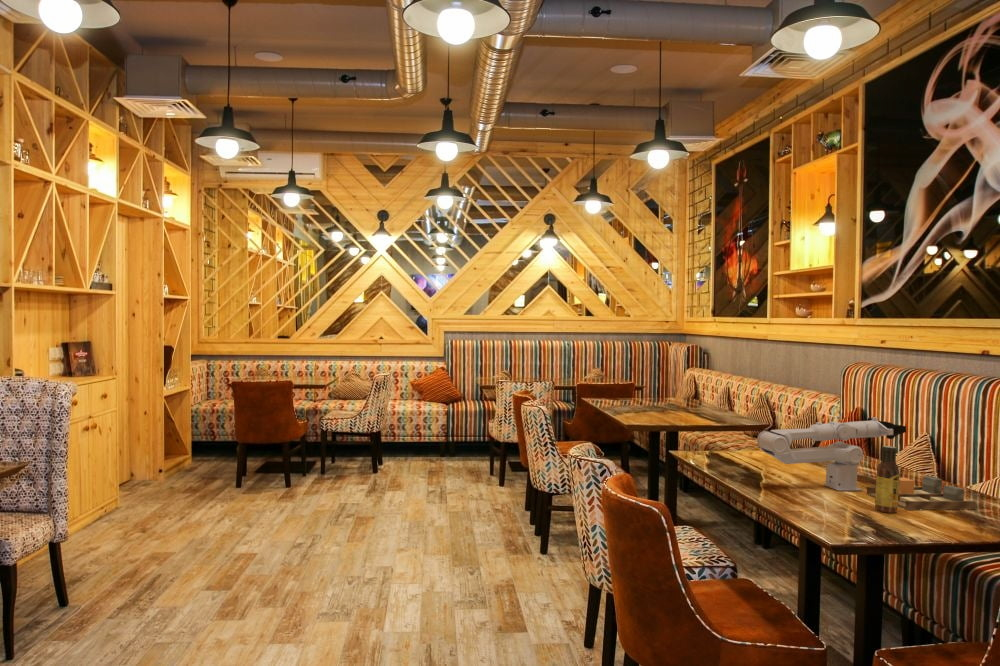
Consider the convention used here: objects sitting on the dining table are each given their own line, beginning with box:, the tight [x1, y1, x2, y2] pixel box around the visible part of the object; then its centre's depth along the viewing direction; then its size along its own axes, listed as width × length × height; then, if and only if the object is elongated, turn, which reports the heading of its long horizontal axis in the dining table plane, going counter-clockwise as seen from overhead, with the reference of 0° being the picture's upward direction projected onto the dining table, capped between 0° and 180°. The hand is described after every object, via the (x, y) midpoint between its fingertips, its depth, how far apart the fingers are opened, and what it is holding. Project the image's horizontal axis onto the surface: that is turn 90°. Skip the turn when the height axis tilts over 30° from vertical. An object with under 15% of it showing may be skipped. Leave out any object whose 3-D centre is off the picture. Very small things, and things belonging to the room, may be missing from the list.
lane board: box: [866, 484, 976, 511], centre depth 233 cm, size 24×19×6 cm
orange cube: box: [899, 477, 915, 494], centre depth 237 cm, size 4×4×4 cm
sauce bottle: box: [874, 445, 900, 514], centre depth 220 cm, size 7×6×20 cm
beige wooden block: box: [914, 475, 943, 494], centre depth 238 cm, size 16×7×6 cm, turn 100°
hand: (897, 427), depth 251 cm, fingers open, 7 cm apart
